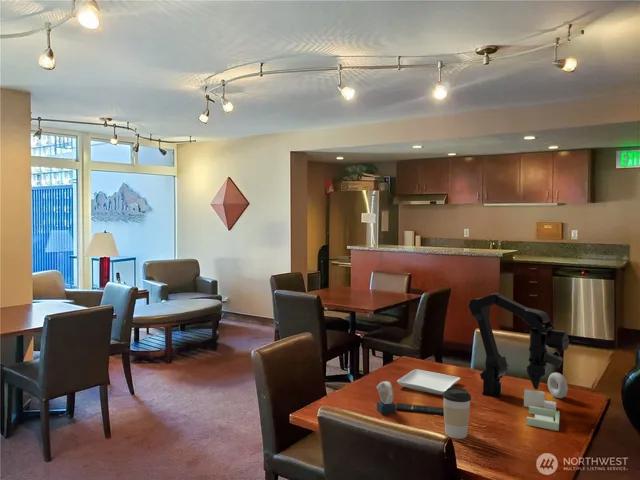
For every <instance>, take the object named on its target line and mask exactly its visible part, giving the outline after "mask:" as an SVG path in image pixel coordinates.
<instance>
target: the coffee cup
mask: <svg viewBox="0 0 640 480" xmlns="http://www.w3.org/2000/svg"><path fill="white" fill-rule="evenodd" d="M442 398H443V402H442V403H443V404H442V405H443V406H442V407H443V408H444V415H443V419H444V428H445V429H444V431H445V435H446V436H447V435H448V436H447V437H449V438H452V439H458V440H461V439H465V438H467V436H468V429H469V423H470V412H471V400H472V395H471V393H469V391H468V390H467V389H466V388H461V387H454V386H452V387H451V388H448V389H447V390H446V391H444V392H443V394H442Z"/></svg>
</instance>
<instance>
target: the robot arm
mask: <svg viewBox="0 0 640 480" xmlns="http://www.w3.org/2000/svg"><path fill="white" fill-rule="evenodd" d="M494 305H496V306H498V307H499V308H501V309H503V310H506V311H508V312H510V313H512V314H514V315H516V316H518V317H519V318H521V319H522V320H523V322H525V324H527V325H528V326H527V327H526V328H525V329H524V332H527V333H529V346H528V347H529V348H528V351H529V355H528V356H529V357H528V363H527V365H526V373H527V374H528V377H529V378H530V382H531V384H532V386H533V389H534V390H535V391H538V389H539V385H540V382H541V378H542V377H543V376H545V375H546V371H547V369H546V368H547V365H548V364H549V365H551V366H553V367H555V368H557V369H560V367H561V365H562V363H563V361H564V360H563V357H562V356H560V352H559V351H557V350H560V351H561V350H562V351H567V350H568V348H569V344H570V339H569V336H568V334H567V331H565V330H558V329H556V327H555V326H554V325H553V323H552V321H551V320H550V317H549V314H548V313H547V312H545V311H544V310H540V309H535V308H530V307H527V306H526V305H522V304H521V303H518V302H517V301H514V300H512V299H511V298H508V297H506V296H505V295H503V294H501V293H499V292H496V293H491V294H490V295H487V296H484V297H478V298H473V299H471V300H470V301H469V302H468V308H469V312H470V313H471V316H472V317H473V319H475V321H476V323H477V326H478V330H479V334H480V337H481V341H482V344H483V348H484V351H485V362H484V364H485V365H484V366H485V369H484V370H483V371H482V372H480V374H479V376H480V379H481V380H483V381H482V382H483V383H482V392H481V393H482V394H481V395H484V396H490V397H496V398H497V397H498V398H499V397H500V396H501V394H502V393H503V392H502V389H503V388H502V387H503V383H502V382H501V379H503V377H504V375H505V374H507V371H508V367H509V365H508V363H507V358H506V356H502V355H501V354H500V353H499V350H498V347H497V343H496V339H495V336H494V335H495V334H494V332H493V329H492V324H491V321H490V315H491V314H490V313H491V308H490V307H492V306H494ZM547 347H548V348H551V349H555V351H553V352H550V351H548V348H547Z"/></svg>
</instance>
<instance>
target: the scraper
mask: <svg viewBox="0 0 640 480" xmlns="http://www.w3.org/2000/svg"><path fill="white" fill-rule="evenodd" d="M523 393H524V394H523V407H526V408H529V406H534V407H539V408H545V409H551V410H557V402H555V401H551V400H545V399H546V398H545V396H546V394H545V391H540V390H536V389H534V390H533V389H527V388H524V390H523Z"/></svg>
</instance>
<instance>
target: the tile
mask: <svg viewBox="0 0 640 480" xmlns="http://www.w3.org/2000/svg"><path fill="white" fill-rule="evenodd" d="M534 418H537V419H543V420H548V421H554V418H553V417H548V416H541V415H534Z"/></svg>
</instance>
